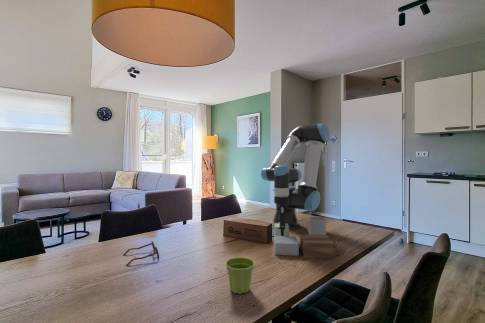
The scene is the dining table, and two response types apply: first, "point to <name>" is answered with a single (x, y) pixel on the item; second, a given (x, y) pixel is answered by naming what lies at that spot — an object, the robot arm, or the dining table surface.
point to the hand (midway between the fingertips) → (281, 238)
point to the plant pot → (240, 274)
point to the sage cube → (276, 226)
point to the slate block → (286, 245)
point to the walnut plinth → (316, 246)
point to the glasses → (144, 256)
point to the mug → (316, 225)
